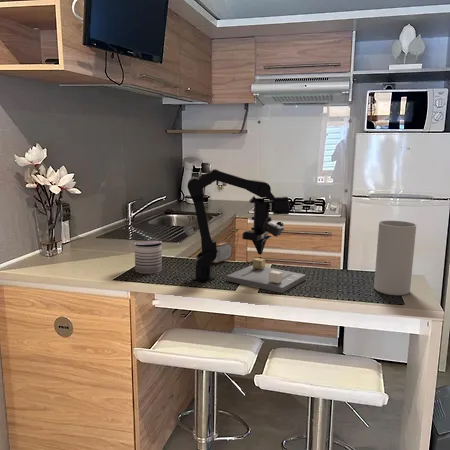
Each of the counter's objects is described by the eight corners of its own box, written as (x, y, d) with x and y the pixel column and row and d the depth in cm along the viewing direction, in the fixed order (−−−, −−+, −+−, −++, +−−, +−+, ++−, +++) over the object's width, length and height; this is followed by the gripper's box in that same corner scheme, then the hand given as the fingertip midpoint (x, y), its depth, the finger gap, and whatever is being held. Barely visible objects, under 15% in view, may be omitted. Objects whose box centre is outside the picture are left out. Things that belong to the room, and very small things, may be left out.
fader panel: (282, 293, 165) (282, 287, 164) (226, 280, 178) (226, 275, 177) (305, 279, 181) (305, 274, 181) (252, 269, 194) (253, 264, 194)
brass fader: (261, 269, 185) (261, 260, 185) (252, 267, 188) (252, 259, 187) (264, 267, 188) (265, 259, 187) (256, 266, 190) (256, 257, 189)
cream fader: (278, 283, 168) (278, 274, 167) (268, 281, 170) (269, 272, 170) (282, 281, 170) (282, 272, 170) (272, 279, 173) (272, 270, 172)
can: (134, 274, 184) (134, 245, 182) (133, 266, 195) (133, 238, 193) (163, 273, 187) (163, 244, 184) (161, 265, 197) (160, 238, 195)
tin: (228, 257, 212) (228, 239, 211) (233, 259, 210) (234, 240, 209) (206, 264, 201) (206, 245, 199) (211, 265, 199) (212, 246, 197)
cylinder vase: (413, 297, 163) (419, 227, 158) (376, 294, 165) (381, 225, 160) (406, 286, 175) (412, 221, 170) (371, 284, 177) (376, 219, 172)
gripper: (269, 220, 164) (267, 262, 167) (290, 213, 179) (289, 252, 182) (242, 216, 170) (241, 258, 173) (265, 210, 185) (264, 248, 188)
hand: (260, 254), depth 179 cm, fingers closed
